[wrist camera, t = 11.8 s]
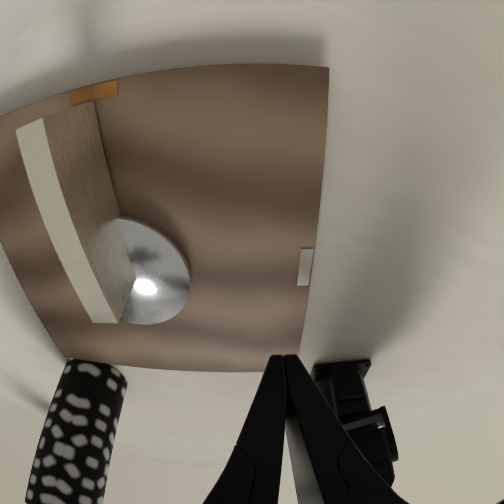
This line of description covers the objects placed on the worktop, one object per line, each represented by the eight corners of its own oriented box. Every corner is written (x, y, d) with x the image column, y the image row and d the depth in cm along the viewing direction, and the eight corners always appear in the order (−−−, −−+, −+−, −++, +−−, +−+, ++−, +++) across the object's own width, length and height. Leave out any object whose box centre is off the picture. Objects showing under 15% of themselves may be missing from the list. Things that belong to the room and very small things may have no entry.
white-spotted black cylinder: (140, 387, 32) (115, 535, 15) (101, 394, 34) (74, 518, 17) (91, 349, 28) (44, 515, 11) (57, 360, 30) (14, 494, 13)
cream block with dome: (202, 315, 21) (195, 369, 18) (100, 316, 22) (80, 362, 18) (153, 84, 12) (114, 92, 8) (26, 126, 13) (-25, 151, 9)
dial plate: (293, 358, 28) (294, 371, 26) (68, 346, 28) (64, 357, 26) (322, 67, 14) (329, 67, 12) (-19, 126, 13) (-32, 132, 12)
